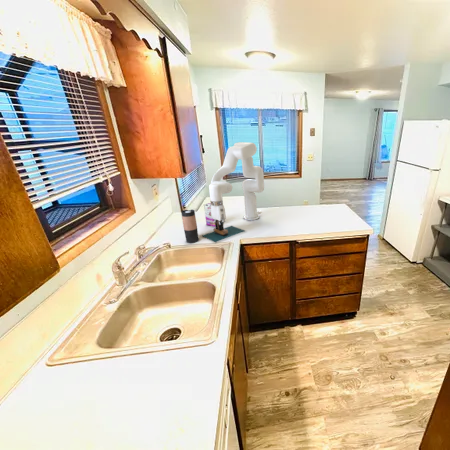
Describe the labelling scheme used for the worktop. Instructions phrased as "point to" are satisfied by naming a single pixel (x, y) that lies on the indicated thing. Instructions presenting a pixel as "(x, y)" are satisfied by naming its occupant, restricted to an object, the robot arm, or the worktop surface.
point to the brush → (220, 231)
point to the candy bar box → (209, 215)
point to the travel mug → (190, 226)
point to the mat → (217, 237)
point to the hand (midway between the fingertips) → (219, 229)
